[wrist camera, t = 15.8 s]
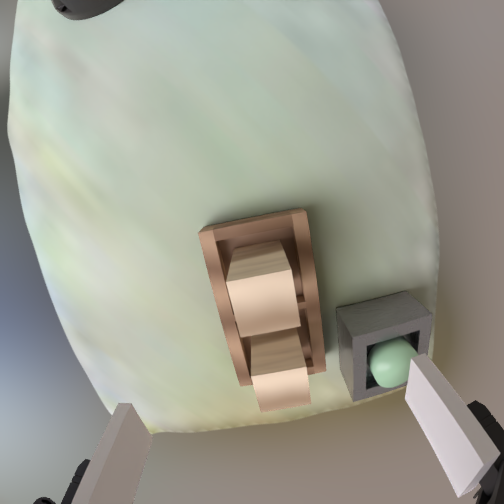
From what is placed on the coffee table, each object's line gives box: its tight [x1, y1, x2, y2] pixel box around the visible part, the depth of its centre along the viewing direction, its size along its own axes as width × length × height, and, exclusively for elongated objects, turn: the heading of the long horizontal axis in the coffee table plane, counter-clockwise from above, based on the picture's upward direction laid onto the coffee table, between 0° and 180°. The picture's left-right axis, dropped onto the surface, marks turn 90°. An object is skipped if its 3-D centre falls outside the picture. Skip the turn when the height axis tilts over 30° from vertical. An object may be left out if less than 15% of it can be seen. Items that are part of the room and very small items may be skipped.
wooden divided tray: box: [198, 208, 326, 386], centre depth 33 cm, size 20×11×3 cm, turn 11°
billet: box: [226, 239, 301, 337], centre depth 27 cm, size 5×5×10 cm
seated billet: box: [251, 327, 311, 412], centre depth 30 cm, size 5×5×10 cm
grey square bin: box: [336, 291, 432, 402], centre depth 33 cm, size 10×10×7 cm
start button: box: [367, 336, 418, 388], centre depth 29 cm, size 6×6×3 cm
